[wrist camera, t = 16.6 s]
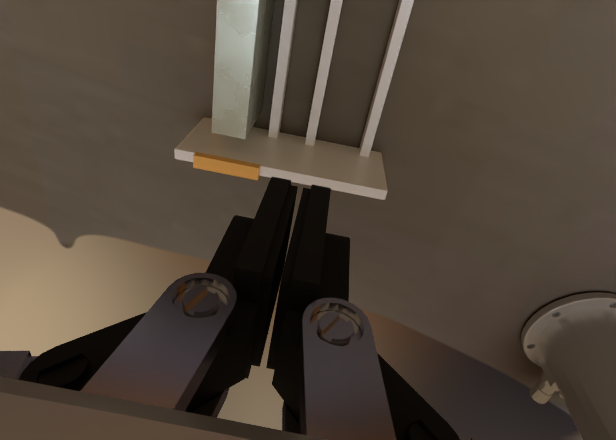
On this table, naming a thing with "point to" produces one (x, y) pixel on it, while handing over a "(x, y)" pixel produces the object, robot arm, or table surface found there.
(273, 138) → the rack
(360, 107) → the table surface
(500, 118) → the table surface
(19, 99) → the table surface
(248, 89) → the panel
